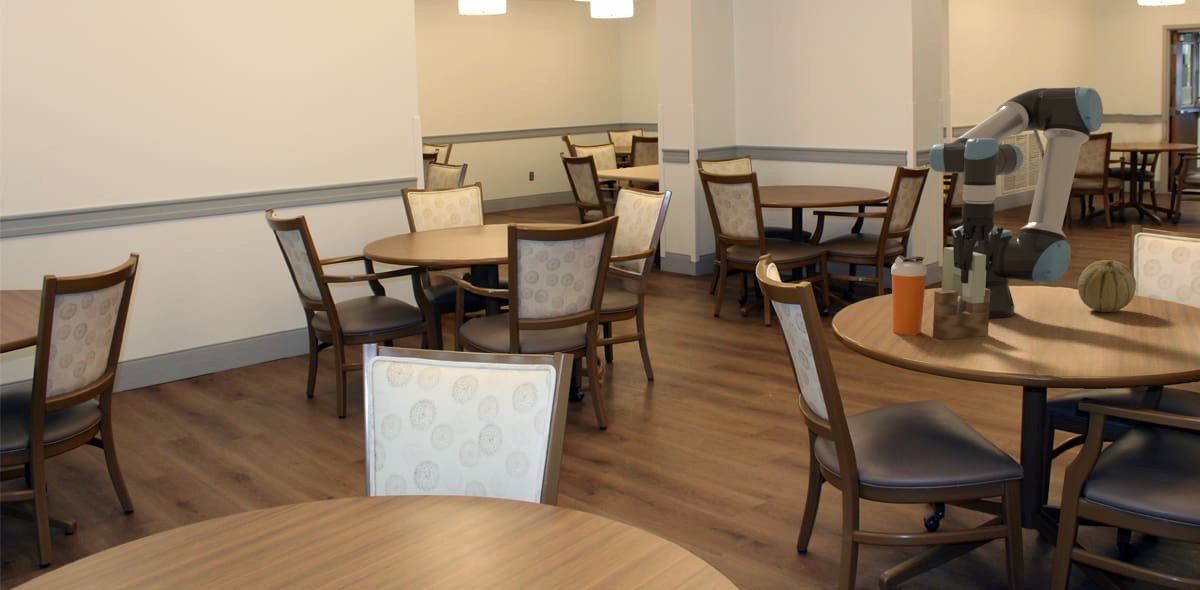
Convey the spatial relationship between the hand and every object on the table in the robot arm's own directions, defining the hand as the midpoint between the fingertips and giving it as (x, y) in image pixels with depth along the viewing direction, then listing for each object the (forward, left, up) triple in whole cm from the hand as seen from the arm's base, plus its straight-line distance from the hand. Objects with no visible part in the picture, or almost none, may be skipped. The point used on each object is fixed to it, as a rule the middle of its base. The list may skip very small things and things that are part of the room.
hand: (973, 295), depth 252 cm
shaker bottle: (+10, -14, -12) cm, 21 cm away
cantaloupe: (-53, -17, -12) cm, 57 cm away
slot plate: (0, -5, -2) cm, 5 cm away
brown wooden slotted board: (0, -5, -12) cm, 13 cm away
